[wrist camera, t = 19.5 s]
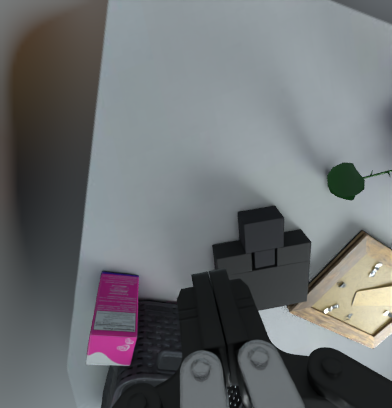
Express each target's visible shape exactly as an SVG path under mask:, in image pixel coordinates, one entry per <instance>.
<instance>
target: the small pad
mask: <svg viewBox="0 0 392 408" xmlns="http://www.w3.org/2000/svg"><path fill="white" fill-rule="evenodd" d="M238 223H239V238H240V242H241V244H242V246H243V249H244V251H245V253H246V254H247V253H251V257H252V262H253V264H254V267H255V268H259V267H265V266H270V265H275V248H280V247H284V217H283V216H282V214H281V213H280V212H279V210H278V209H277V208H276V206H270V207H265V208H259V209H253V210H247V211H242V212H238Z"/></svg>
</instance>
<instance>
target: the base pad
mask: <svg viewBox="0 0 392 408" xmlns="http://www.w3.org/2000/svg"><path fill="white" fill-rule="evenodd" d="M310 253H311V241H310V240H309V239H308V238H307V236H306V235H305V234H304V233H303V231H302V230H301V229H300V230H295V231H289V232H284V247H280V248H275V265H270V266H265V267H259V268H255V267H254V264H253V262H252V257H251V253H247V254H246V253H245V251H244V249H243V246H242V244H241V242H240V240H239V241H233V242H228V243H222V244H217V245H213V254H214V262H215V270H218V269H224V268H226V271H227V274H228V277H229V280H233V279H238V278H240V279H241V280H243V281H244V282H245V283H246V284H247V285H248V287H249V289H250V292H251V294H252V297H253V299H254V302H255V305H256V307H257V309H258V311H259V310H264V309H269V308H275V307H280V306H285V305H290V304H296V303H301V302H306V301H307V295H308V281H309V267H310Z"/></svg>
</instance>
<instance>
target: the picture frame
mask: <svg viewBox="0 0 392 408" xmlns="http://www.w3.org/2000/svg"><path fill="white" fill-rule="evenodd" d="M287 308H288V309H289V312H290V313H292V314H294V315H296V316H299V317H301V318H303V319H306V320H308V321H310V322H312V323H315V324H317V325H319V326H322V327H324V328H326V329H328V330H331V331H333V332H335V333H338V334H340V335H342V336H344V337H347V338H349V339H351V340H354V341H356V342H358V343H360V344H363V345H365V346H367V347H370V348H372V349H374V348H375V347H376V346H377V345H378V344H380V343H381V342H382V341H383V340H385V339H386V338H387V337H388V336H389V335H391V334H392V249H390V248H389V247H387V246H385V245H384V244H382V243H381V242H379V241H378V240H376V239H375V238H373V237H372V236H370V235H368V234H367V233H365V232H364V231H361V232H360V233H359V234H358V235H357V236H356V237H355V238H354V239H353V240H352V241H351V242H350V243H349V244H348V245H347V246H346V248H345V249H344V250H343V251H342V252H341V253H340V254H339V255H338V256H337V257H336V258H335V259H334V260H333V261H332V262H331V263H330V264H329V265H328V266H327V267H326V268H325V269H324V270H323V271H322V272H321V273H320V274H319V275H318V276H317V277H316V278H315V279H314V280H313V281H312V282H311V283H310V284H309V285H308V295H307V301H306V302H301V303H296V304H290V305H288V306H287Z"/></svg>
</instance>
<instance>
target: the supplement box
mask: <svg viewBox="0 0 392 408" xmlns="http://www.w3.org/2000/svg"><path fill="white" fill-rule="evenodd" d="M138 285H139V276H138V275H129V274H120V273H112V272H104V271H102V273H101V277H100V283H99V288H98V293H97V298H96V304H95V310H94V316H93V321H92V326H91V331H90V337H89V343H88V350H87V357H86V365H117V366H130V364H131V360H132V356H133V352H134V347H135V343H136V339H137V321H138Z"/></svg>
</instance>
